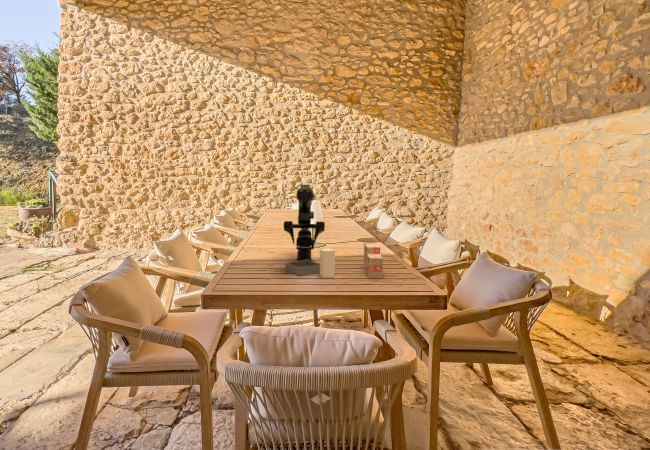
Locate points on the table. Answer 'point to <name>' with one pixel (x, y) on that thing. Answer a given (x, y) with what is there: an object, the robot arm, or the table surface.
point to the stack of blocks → (373, 260)
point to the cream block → (327, 262)
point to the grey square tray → (303, 267)
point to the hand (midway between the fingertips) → (303, 243)
